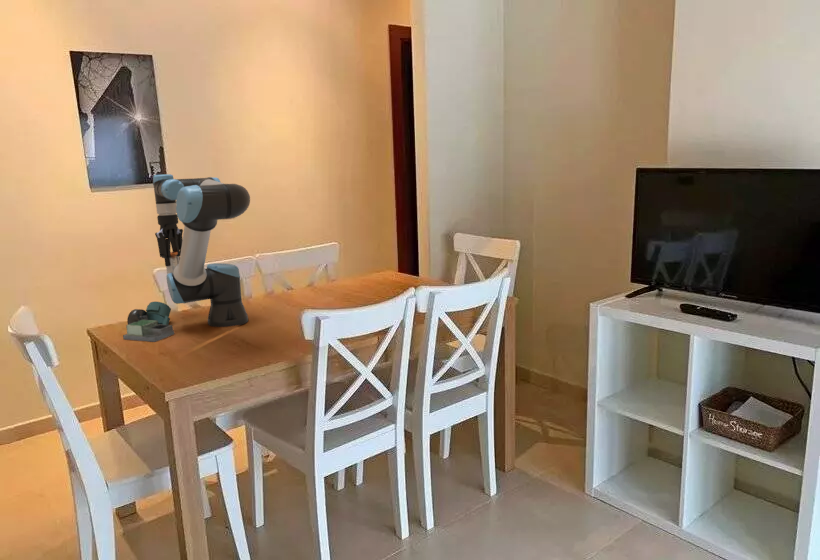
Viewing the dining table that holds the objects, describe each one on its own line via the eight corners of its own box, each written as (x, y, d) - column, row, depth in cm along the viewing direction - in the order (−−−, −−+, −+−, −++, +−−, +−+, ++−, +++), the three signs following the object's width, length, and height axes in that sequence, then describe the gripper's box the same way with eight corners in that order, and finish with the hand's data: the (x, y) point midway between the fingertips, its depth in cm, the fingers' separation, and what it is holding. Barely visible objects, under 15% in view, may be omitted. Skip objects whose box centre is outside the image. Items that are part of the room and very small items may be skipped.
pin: (182, 280, 257) (179, 251, 255) (178, 282, 253) (174, 252, 251) (172, 281, 258) (168, 251, 255) (167, 283, 253) (163, 253, 251)
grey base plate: (174, 334, 233) (172, 320, 232) (154, 341, 224) (153, 328, 223) (143, 331, 238) (142, 318, 237) (123, 339, 229) (121, 325, 228)
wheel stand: (153, 329, 241) (151, 307, 240) (138, 334, 234) (135, 312, 232) (140, 328, 244) (138, 306, 242) (125, 333, 236) (122, 311, 235)
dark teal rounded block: (175, 307, 247) (168, 327, 242) (164, 315, 253) (157, 335, 248) (153, 297, 242) (146, 317, 237) (143, 306, 248) (135, 326, 243)
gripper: (173, 212, 259) (180, 269, 263) (144, 216, 244) (151, 276, 248) (188, 212, 257) (195, 269, 261) (160, 216, 242) (167, 277, 246)
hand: (173, 273), depth 255 cm, fingers closed on pin, 3 cm apart
